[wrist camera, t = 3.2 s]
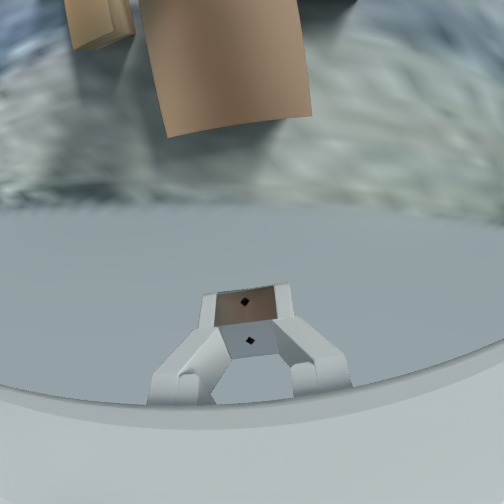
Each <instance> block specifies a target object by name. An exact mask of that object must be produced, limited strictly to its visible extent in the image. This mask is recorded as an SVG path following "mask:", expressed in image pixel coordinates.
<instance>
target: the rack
mask: <svg viewBox="0 0 504 504" xmlns="http://www.w3.org/2000/svg"><path fill="white" fill-rule="evenodd" d="M64 2H65V9H66V15H67V21H68V26H69V31H70V36H71V41H72V46H73V50H86V49H101V48H103V47H105V46H108V45H110V44H112V43H115V42H117V41H120V40H122V39H125V38H127V37H130V36H132V35H135V34H136V33H135V28H134V24H133V19H132V14H131V9H130V4H129V0H64Z"/></svg>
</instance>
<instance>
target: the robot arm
mask: <svg viewBox="0 0 504 504" xmlns="http://www.w3.org/2000/svg"><path fill="white" fill-rule="evenodd" d="M271 354H279V355H280V356H281V357H282V358H283V359H284V361H285V362H286V363H287V364H288V365H289V367H290V368H291V373H292V385H293V394H294V398H288V399H281V400H271V401H263V402H252V403H239V404H223V405H216V403H215V401H214V399H213V398H212V396H211V395H210V393H211V392H212V390H213V389H214V387H215V386H216V384H217V383H218V381H219V380H220V378H221V376H222V375H223V373H224V372H225V370H226V369H227V367H228V365H229V364H230V362H231V359H237V358H244V357H252V356H261V355H271ZM0 504H504V339H502V340H500V341H497V342H496V343H493V344H490V345H488V346H486V347H484V348H481V349H478V350H476V351H473V352H471V353H468V354H466V355H463V356H460V357H458V358H455V359H452V360H449V361H446V362H443V363H440V364H437V365H435V366H431V367H429V368H425V369H422V370H419V371H415V372H412V373H408V374H405V375H402V376H398V377H394V378H390V379H386V380H382V381H379V382H375V383H371V384H366V385H361V386H357V387H352V383H351V379H350V375H349V371H348V367H347V363H346V359H345V355H344V354H343V353H342V352H341V351H340V350H338V349H337V348H336V347H335V346H334V345H332V344H331V343H330V342H329V341H328V340H326V339H325V338H324V337H323V336H322V335H321V334H319V333H318V332H317V331H316V330H314V329H313V328H312V327H311V326H310V325H309V324H307V323H306V322H305V321H304V320H303V319H302V318H300V317H299V316H296V317H294V311H293V305H292V298H291V292H290V286H289V283H288V282H285V283H280V284H274V285H269V286H262V287H256V288H249V289H242V290H234V291H224V292H218V293H208V294H204V295H203V297H202V303H201V310H200V316H199V323H198V329H193V331H192V332H191V333H190V334H189V335H188V336H187V337H186V338H185V340H183V342H182V343H181V344H180V345H179V346H178V347H177V348H176V349H175V350H174V351H173V353H172V354H171V355H170V356H169V357H168V358H167V359H166V360H165V361H164V362H163V363H162V365H161V366H160V367H159V368H158V369H157V370H156V371H155V372H154V373H153V375H152V381H151V385H150V390H149V395H148V400H147V405H134V404H119V403H118V404H117V403H107V402H97V401H88V400H79V399H71V398H65V397H59V396H52V395H47V394H41V393H36V392H31V391H27V390H21V389H17V388H13V387H9V386H5V385H1V384H0Z"/></svg>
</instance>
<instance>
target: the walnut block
mask: <svg viewBox="0 0 504 504" xmlns="http://www.w3.org/2000/svg"><path fill="white" fill-rule="evenodd" d="M139 6H140V12H141V17H142V23H143V28H144V33H145V39H146V44H147V49H148V54H149V59H150V64H151V68H152V73H153V78H154V82H155V87H156V91H157V96H158V100H159V104H160V109H161V113H162V117H163V121H164V125H165V130H166V134H167V138H170V137H175V136H179V135H184V134H189V133H193V132H199V131H204V130H209V129H215V128H220V127H226V126H232V125H239V124H246V123H253V122H260V121H268V120H276V119H286V118H296V117H307V116H312V108H311V99H310V90H309V81H308V73H307V65H306V57H305V50H304V43H303V36H302V30H301V23H300V17H299V11H298V6H297V0H139Z"/></svg>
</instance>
